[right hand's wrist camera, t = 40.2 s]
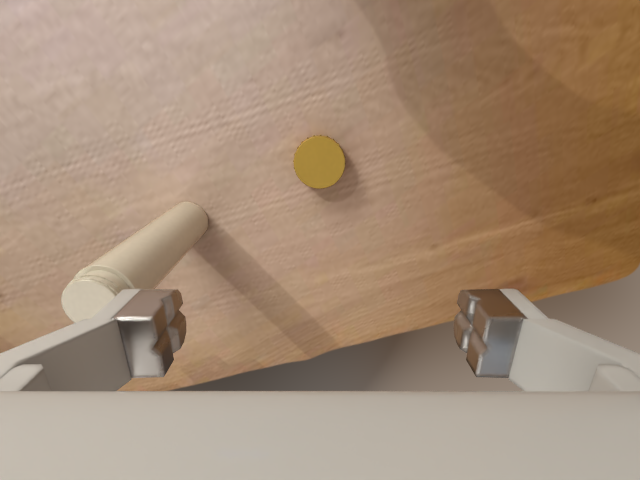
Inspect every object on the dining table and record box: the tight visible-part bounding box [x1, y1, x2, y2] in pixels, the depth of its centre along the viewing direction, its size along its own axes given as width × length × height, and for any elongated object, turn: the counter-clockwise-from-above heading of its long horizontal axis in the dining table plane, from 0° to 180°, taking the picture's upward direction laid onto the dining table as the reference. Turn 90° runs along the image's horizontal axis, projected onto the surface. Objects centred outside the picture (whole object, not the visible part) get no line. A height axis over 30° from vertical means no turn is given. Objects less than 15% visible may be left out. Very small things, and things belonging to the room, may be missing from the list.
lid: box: [293, 135, 345, 189], centre depth 37 cm, size 6×6×2 cm
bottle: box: [61, 202, 208, 323], centre depth 32 cm, size 5×5×18 cm
